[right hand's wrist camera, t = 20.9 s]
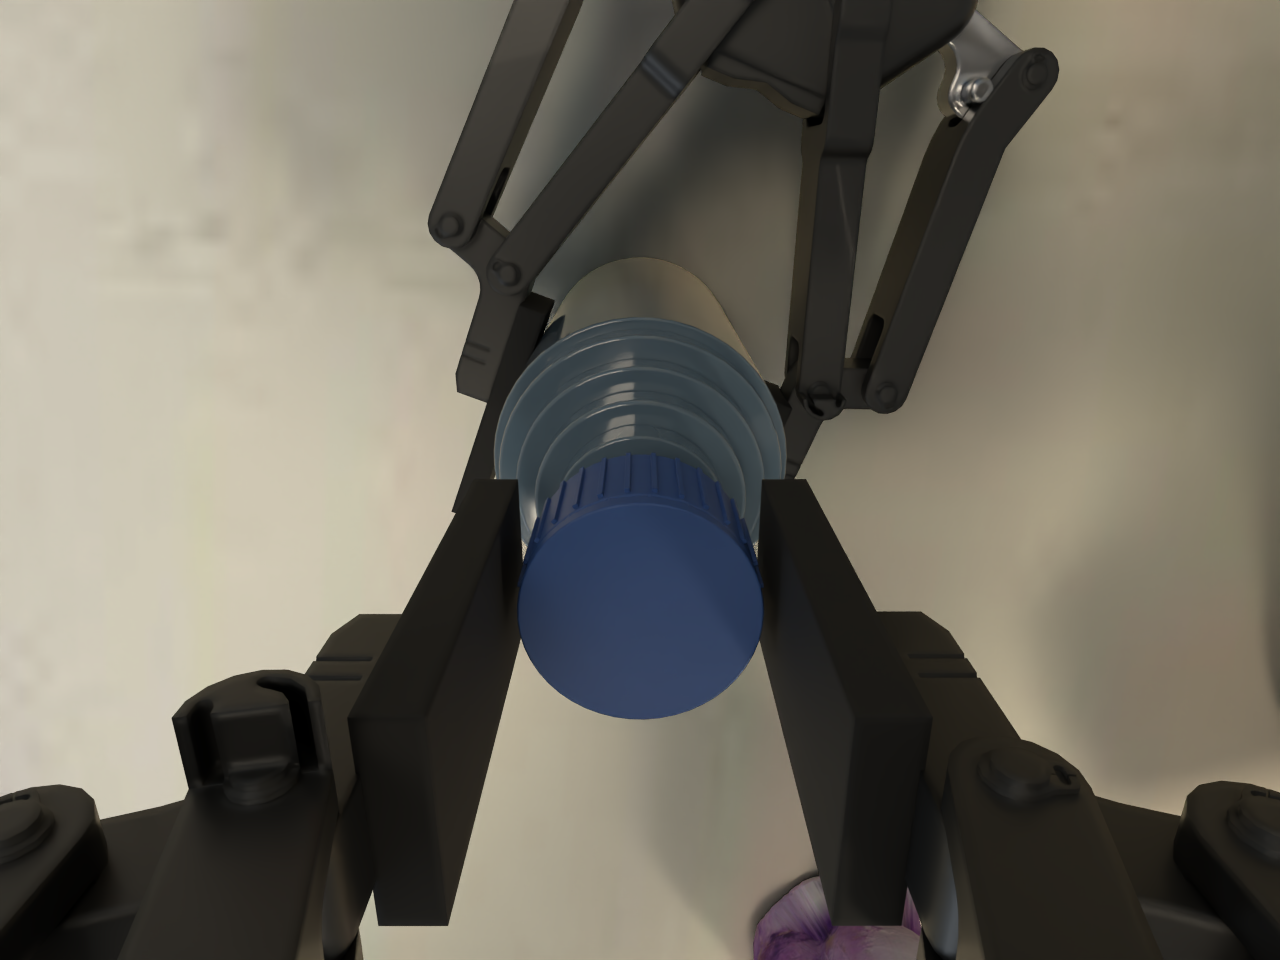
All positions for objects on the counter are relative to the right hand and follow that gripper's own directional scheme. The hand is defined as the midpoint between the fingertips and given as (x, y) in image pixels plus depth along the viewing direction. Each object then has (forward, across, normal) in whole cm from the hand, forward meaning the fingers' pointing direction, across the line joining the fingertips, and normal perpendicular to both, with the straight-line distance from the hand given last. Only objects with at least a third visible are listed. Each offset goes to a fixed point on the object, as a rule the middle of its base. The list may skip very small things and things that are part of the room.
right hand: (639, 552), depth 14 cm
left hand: (+11, +2, +5) cm, 12 cm away
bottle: (+17, 0, 0) cm, 17 cm away
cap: (-2, 0, 0) cm, 2 cm away
